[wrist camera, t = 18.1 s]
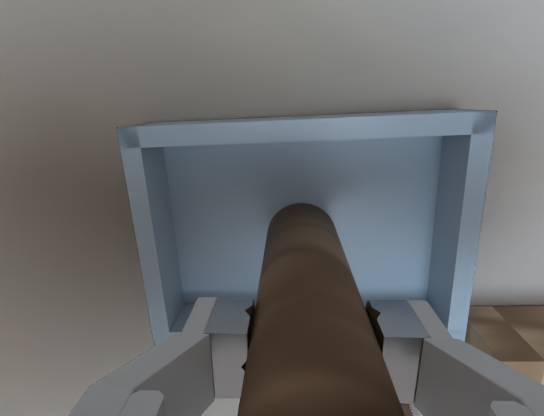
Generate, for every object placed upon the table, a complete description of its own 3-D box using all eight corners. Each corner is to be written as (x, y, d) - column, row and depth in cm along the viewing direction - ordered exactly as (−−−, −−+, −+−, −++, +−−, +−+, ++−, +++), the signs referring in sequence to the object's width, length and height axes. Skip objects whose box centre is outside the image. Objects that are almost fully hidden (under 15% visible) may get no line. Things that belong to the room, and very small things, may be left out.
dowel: (276, 272, 16) (258, 535, 6) (259, 211, 15) (207, 407, 5) (341, 258, 15) (428, 514, 6) (327, 195, 15) (402, 374, 5)
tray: (174, 309, 19) (154, 347, 16) (147, 122, 16) (116, 127, 13) (436, 306, 18) (463, 345, 15) (458, 109, 15) (497, 110, 12)
